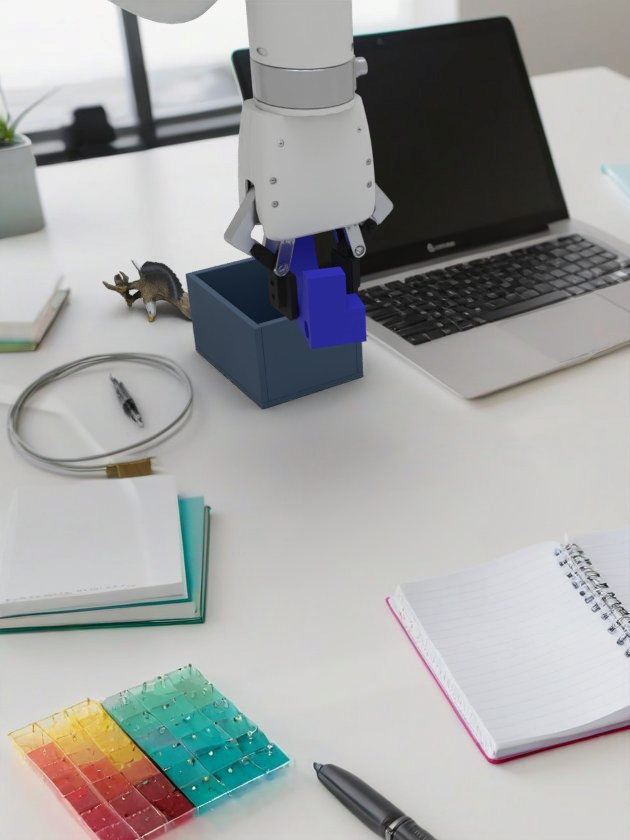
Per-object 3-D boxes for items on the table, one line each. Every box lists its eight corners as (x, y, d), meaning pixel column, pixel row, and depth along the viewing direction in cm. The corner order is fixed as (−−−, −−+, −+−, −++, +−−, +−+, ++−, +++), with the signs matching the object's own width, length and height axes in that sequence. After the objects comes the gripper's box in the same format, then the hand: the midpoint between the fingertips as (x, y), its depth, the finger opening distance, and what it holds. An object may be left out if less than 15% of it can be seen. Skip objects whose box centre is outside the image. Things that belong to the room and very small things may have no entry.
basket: (262, 409, 111) (254, 328, 106) (195, 350, 120) (184, 273, 115) (363, 376, 117) (360, 298, 112) (292, 322, 126) (286, 248, 121)
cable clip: (366, 341, 93) (364, 272, 89) (311, 349, 92) (307, 279, 88) (328, 280, 102) (325, 215, 98) (277, 286, 100) (272, 220, 97)
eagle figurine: (103, 320, 122) (183, 313, 120) (99, 252, 122) (178, 244, 120) (139, 328, 129) (214, 322, 128) (135, 264, 129) (210, 257, 127)
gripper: (374, 55, 92) (379, 267, 103) (173, 84, 83) (201, 312, 94) (427, 79, 88) (426, 299, 98) (220, 112, 79) (244, 349, 89)
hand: (316, 303), depth 96 cm, fingers closed on cable clip, 5 cm apart
